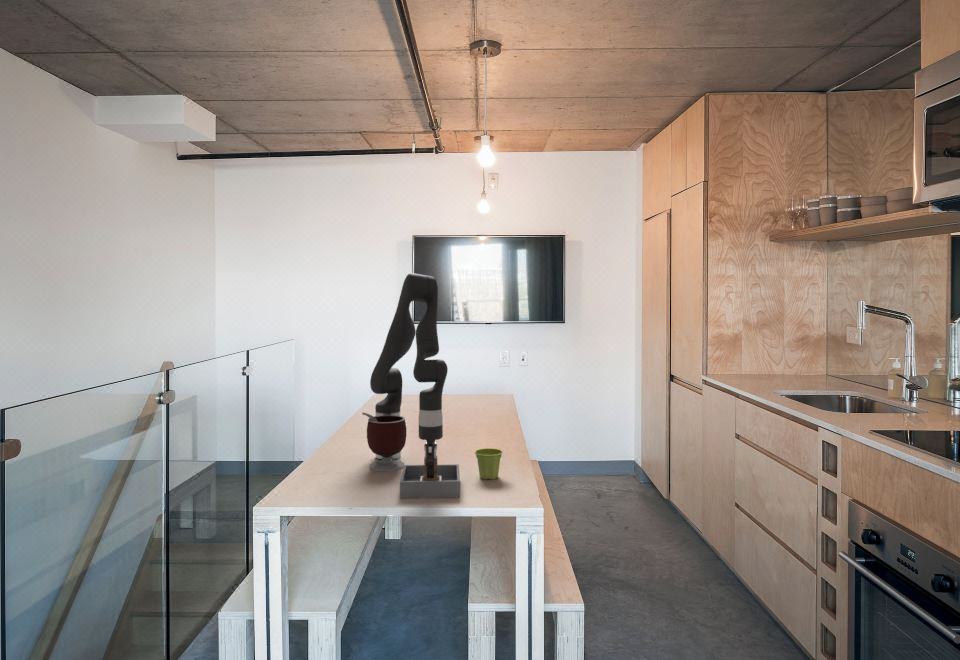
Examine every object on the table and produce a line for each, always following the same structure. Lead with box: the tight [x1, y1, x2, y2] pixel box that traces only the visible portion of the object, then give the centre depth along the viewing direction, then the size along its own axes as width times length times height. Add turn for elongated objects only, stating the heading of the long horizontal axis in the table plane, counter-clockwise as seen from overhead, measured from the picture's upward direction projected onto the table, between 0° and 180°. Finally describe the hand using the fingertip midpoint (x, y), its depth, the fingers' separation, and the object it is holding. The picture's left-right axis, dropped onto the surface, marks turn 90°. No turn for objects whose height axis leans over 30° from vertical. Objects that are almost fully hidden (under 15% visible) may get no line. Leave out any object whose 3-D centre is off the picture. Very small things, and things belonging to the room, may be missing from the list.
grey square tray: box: [399, 463, 461, 499], centre depth 195 cm, size 18×18×5 cm
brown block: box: [423, 454, 438, 481], centre depth 195 cm, size 4×4×9 cm
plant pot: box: [474, 447, 504, 480], centre depth 207 cm, size 9×9×9 cm
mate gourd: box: [362, 412, 407, 472], centre depth 218 cm, size 16×14×20 cm
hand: (430, 473), depth 195 cm, fingers open, 8 cm apart
